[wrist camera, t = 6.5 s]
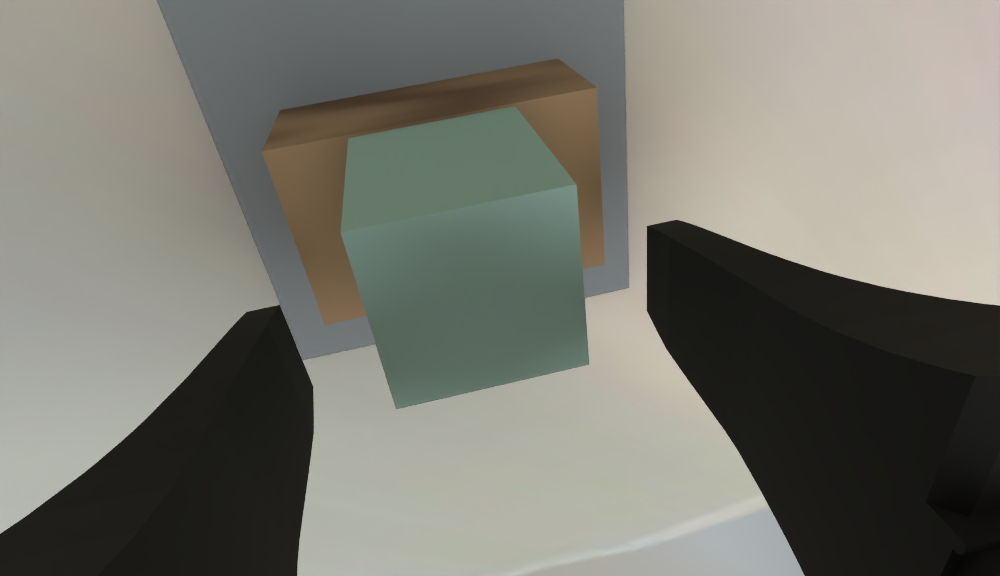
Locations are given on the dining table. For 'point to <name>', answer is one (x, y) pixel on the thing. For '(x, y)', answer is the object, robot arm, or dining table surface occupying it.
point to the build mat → (374, 68)
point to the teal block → (465, 254)
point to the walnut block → (327, 125)
